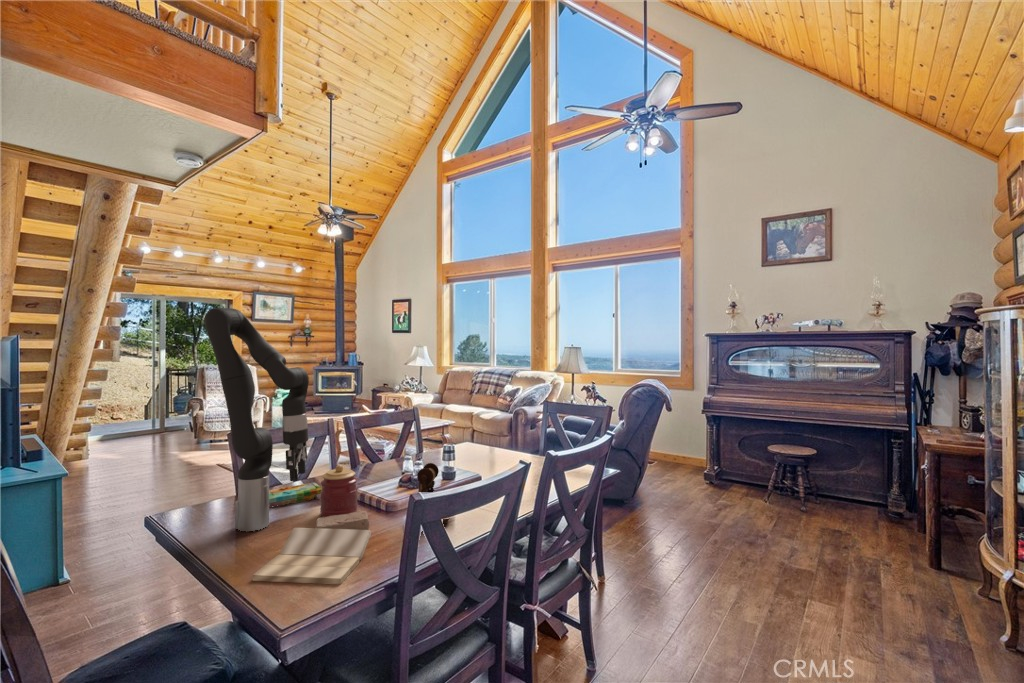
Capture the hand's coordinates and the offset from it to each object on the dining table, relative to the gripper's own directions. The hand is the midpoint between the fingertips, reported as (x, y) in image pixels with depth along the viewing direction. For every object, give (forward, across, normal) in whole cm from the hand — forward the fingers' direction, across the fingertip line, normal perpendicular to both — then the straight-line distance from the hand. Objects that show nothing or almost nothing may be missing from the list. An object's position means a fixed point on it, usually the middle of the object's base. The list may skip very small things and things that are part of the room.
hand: (298, 477), depth 155 cm
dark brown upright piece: (+21, -2, +41) cm, 46 cm away
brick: (+20, 0, +13) cm, 23 cm away
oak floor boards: (+19, +28, +10) cm, 35 cm away
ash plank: (+16, +17, +12) cm, 27 cm away
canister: (+19, -16, +9) cm, 26 cm away
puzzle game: (+18, -34, -13) cm, 41 cm away
